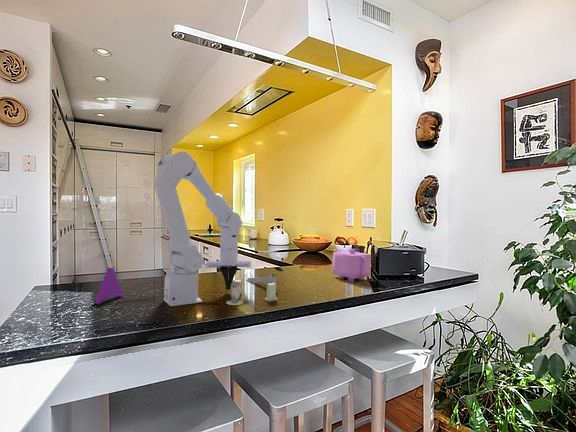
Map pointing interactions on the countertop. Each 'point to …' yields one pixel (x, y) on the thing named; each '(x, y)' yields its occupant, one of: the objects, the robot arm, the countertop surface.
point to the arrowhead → (109, 287)
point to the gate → (239, 286)
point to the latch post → (271, 292)
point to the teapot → (351, 264)
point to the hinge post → (235, 294)
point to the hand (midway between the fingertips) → (228, 289)
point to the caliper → (264, 279)
